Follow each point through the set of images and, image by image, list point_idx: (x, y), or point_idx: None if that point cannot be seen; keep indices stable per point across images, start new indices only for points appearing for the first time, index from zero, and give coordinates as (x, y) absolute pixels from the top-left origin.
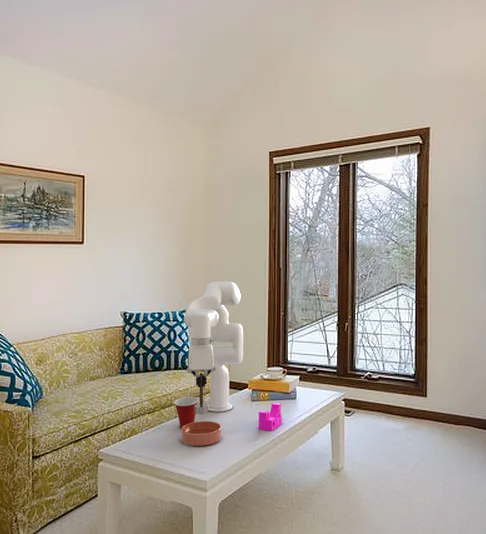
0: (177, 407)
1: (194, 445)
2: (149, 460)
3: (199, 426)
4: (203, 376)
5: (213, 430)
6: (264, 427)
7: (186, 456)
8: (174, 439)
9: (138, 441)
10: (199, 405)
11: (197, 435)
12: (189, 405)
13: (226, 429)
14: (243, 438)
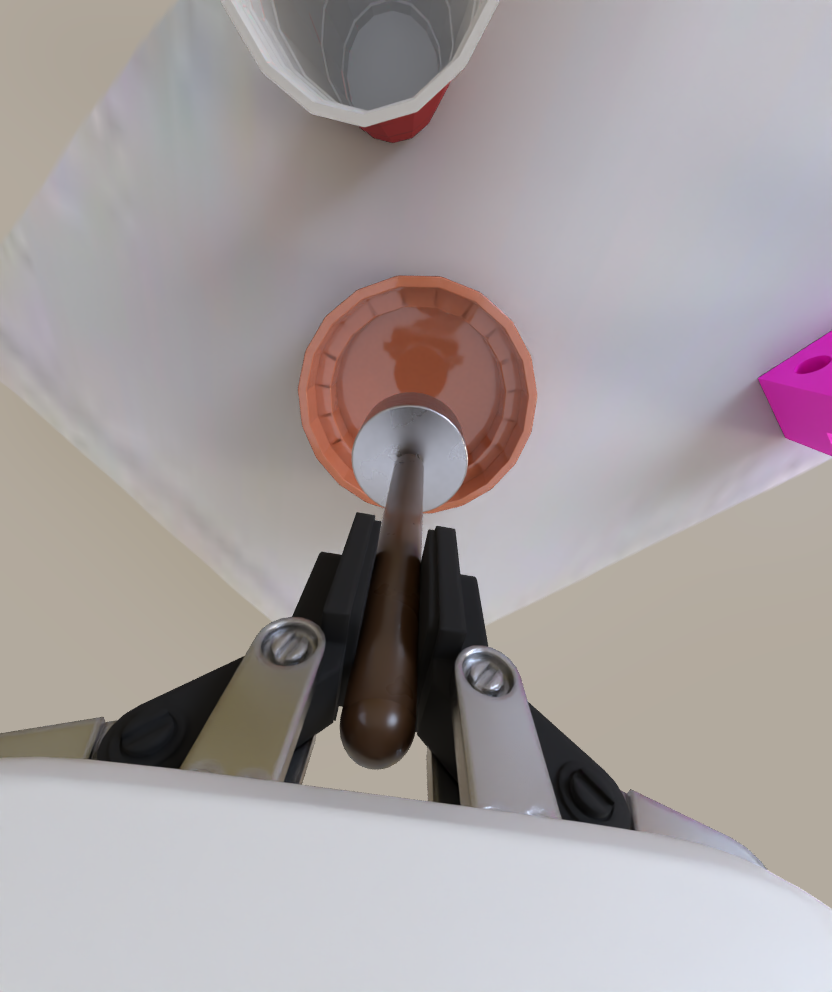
0: (257, 19)
1: None
2: (179, 520)
3: (436, 288)
4: (418, 714)
5: (499, 365)
6: (780, 408)
7: (318, 542)
8: (285, 324)
9: (85, 259)
10: (394, 457)
11: (370, 501)
12: (371, 119)
13: (603, 293)
14: (602, 469)
